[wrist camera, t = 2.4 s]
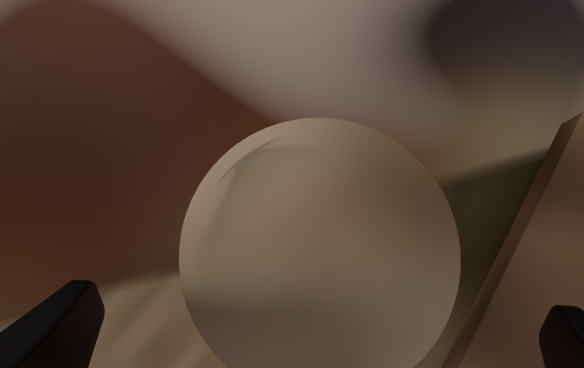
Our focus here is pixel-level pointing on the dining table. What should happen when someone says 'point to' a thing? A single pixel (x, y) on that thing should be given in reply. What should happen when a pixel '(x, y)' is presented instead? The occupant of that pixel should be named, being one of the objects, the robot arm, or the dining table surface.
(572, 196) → the brown flat piece
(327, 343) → the red and beige cylinder
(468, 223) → the dining table surface
